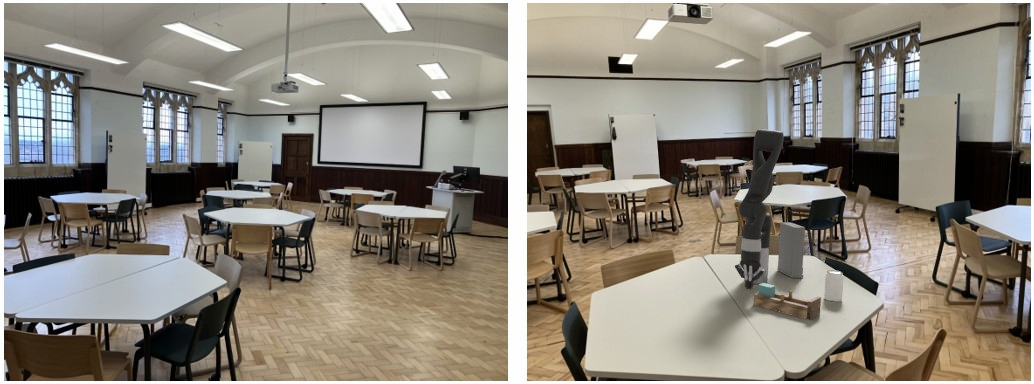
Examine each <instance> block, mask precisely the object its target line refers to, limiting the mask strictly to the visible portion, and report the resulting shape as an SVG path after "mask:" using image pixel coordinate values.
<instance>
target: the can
mask: <svg viewBox="0 0 1034 384" xmlns="http://www.w3.org/2000/svg"><path fill="white" fill-rule="evenodd" d="M844 279H845V278H844V275H843V272H842V271H839V270H833V269H832V270H830V269H829V270H827V272H826V274H825V279H824V280H825V281H824V283H825V284H824V295H823V296H824V297H823V298H824V300H825V301H828V302H833V303H834V302H835V303H839V302H842V300H843V291H844Z"/></svg>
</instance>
